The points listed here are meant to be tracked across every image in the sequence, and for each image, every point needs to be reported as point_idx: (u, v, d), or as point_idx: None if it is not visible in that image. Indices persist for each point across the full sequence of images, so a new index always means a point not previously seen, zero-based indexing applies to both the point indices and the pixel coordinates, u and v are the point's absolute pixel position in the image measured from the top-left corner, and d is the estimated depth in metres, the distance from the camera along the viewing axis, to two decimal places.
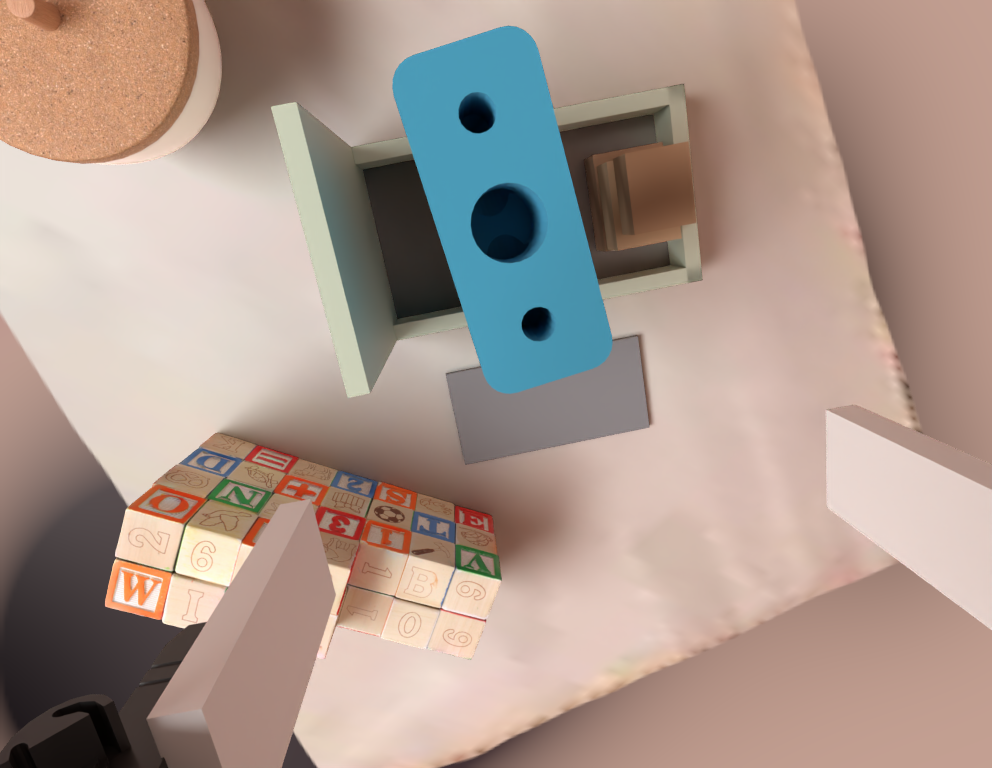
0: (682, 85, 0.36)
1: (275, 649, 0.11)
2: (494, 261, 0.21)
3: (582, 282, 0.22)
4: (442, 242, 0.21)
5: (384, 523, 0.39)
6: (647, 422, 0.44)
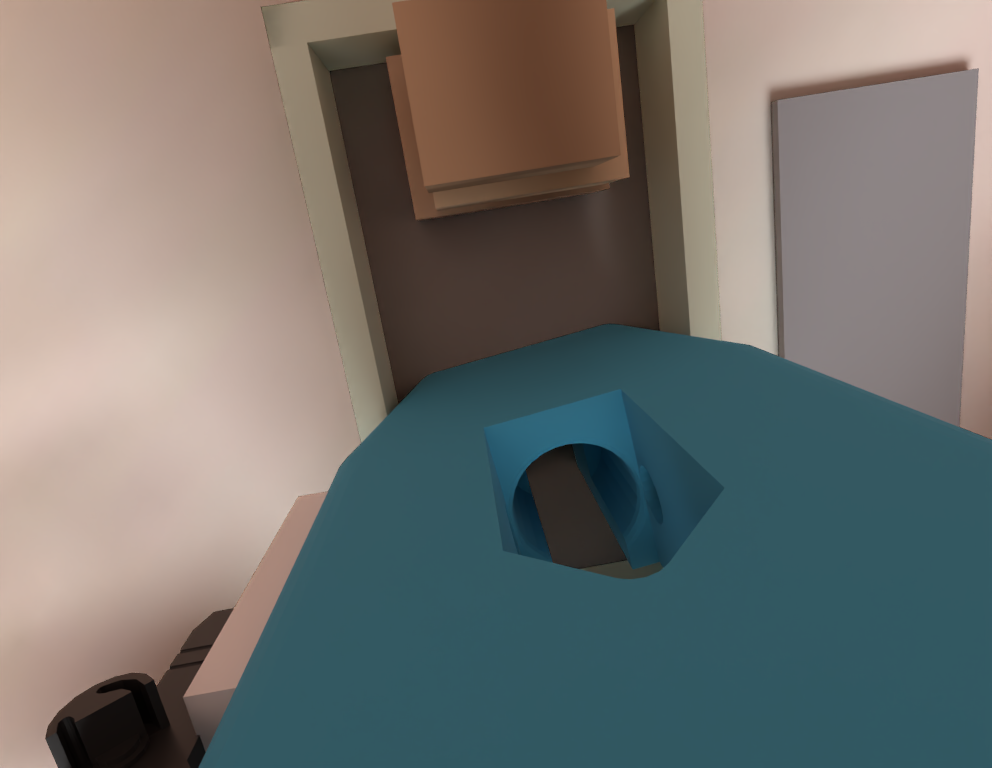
0: (264, 10, 0.16)
1: None
2: None
3: None
4: None
5: None
6: (966, 73, 0.20)
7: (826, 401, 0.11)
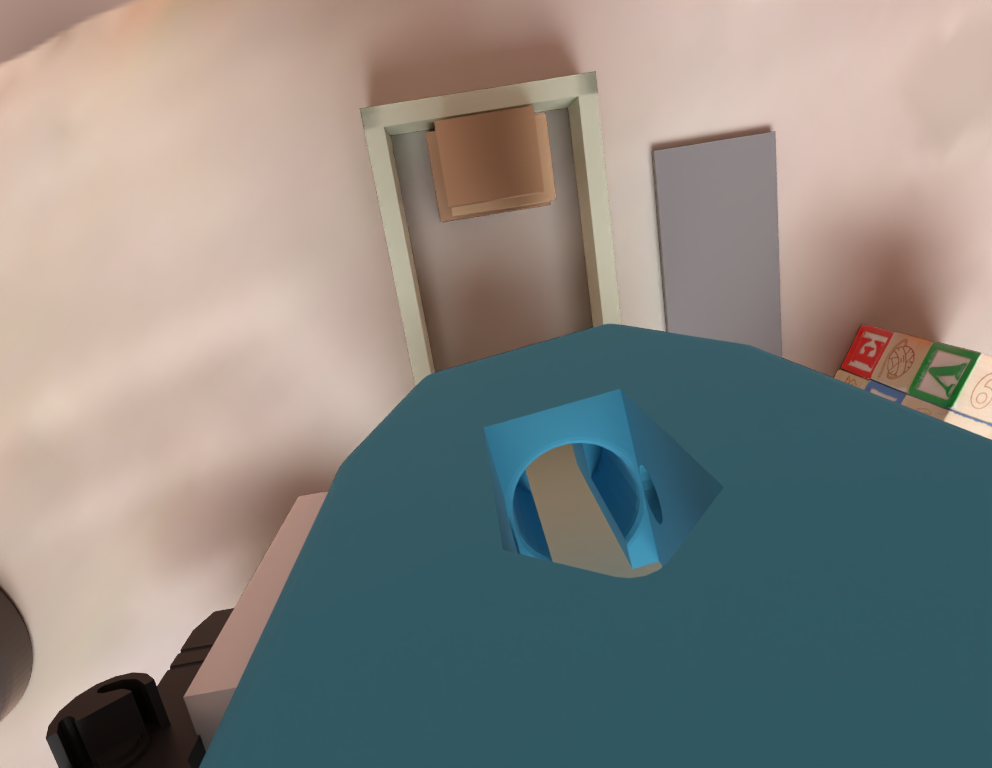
0: (361, 110, 0.30)
1: None
2: None
3: None
4: None
5: None
6: (768, 134, 0.34)
7: (825, 401, 0.11)
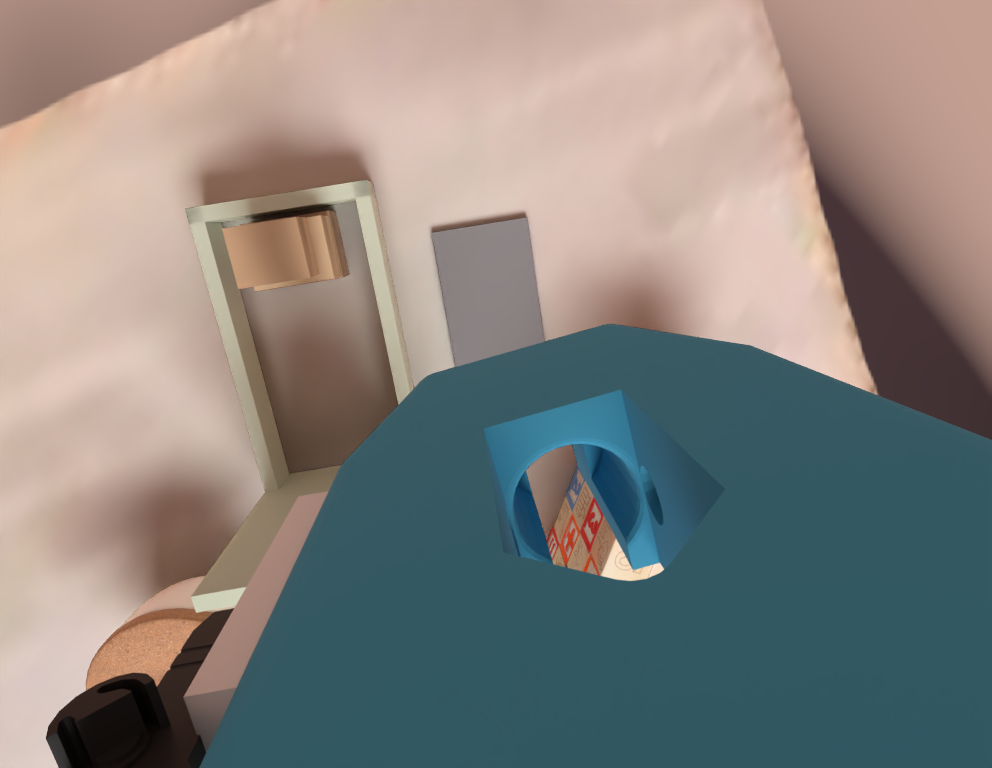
0: (186, 209, 0.39)
1: None
2: None
3: None
4: None
5: None
6: (521, 219, 0.43)
7: (827, 402, 0.11)
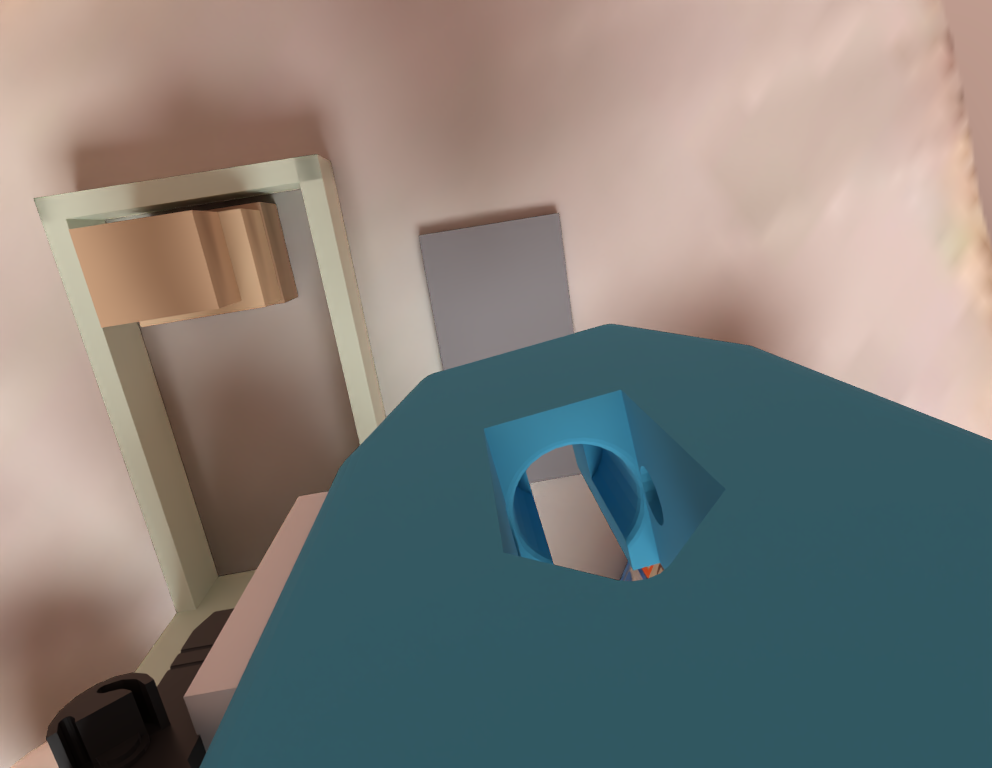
0: (36, 200, 0.25)
1: None
2: None
3: None
4: None
5: None
6: (551, 216, 0.29)
7: (827, 402, 0.11)
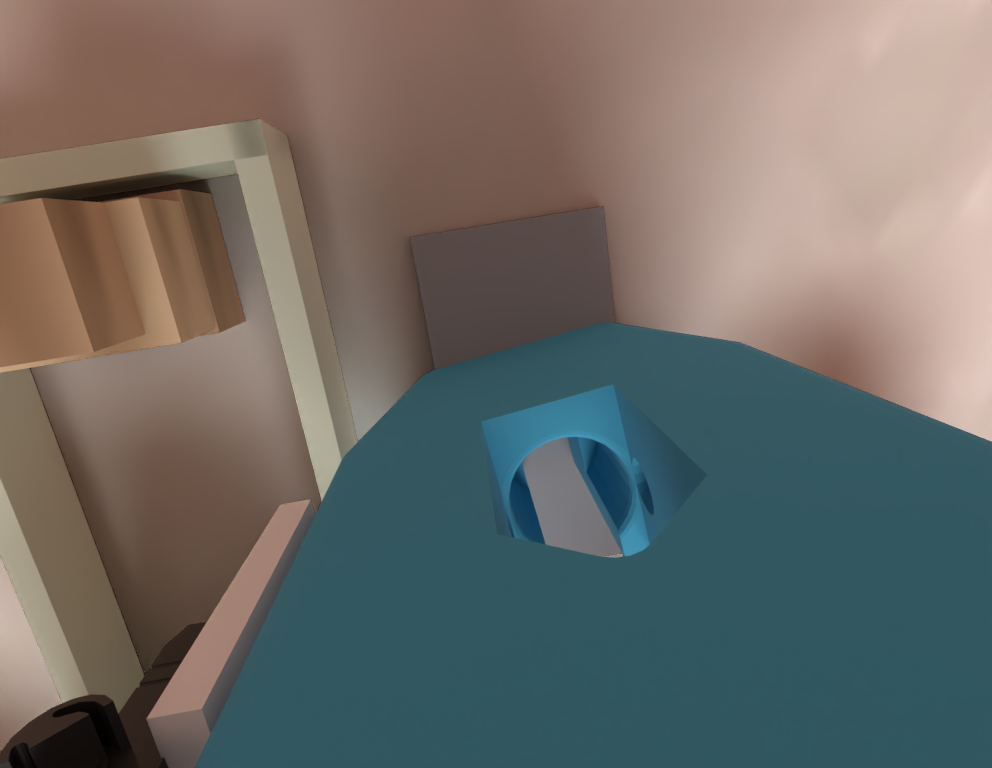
0: None
1: None
2: None
3: None
4: None
5: None
6: (592, 210, 0.21)
7: (807, 394, 0.11)
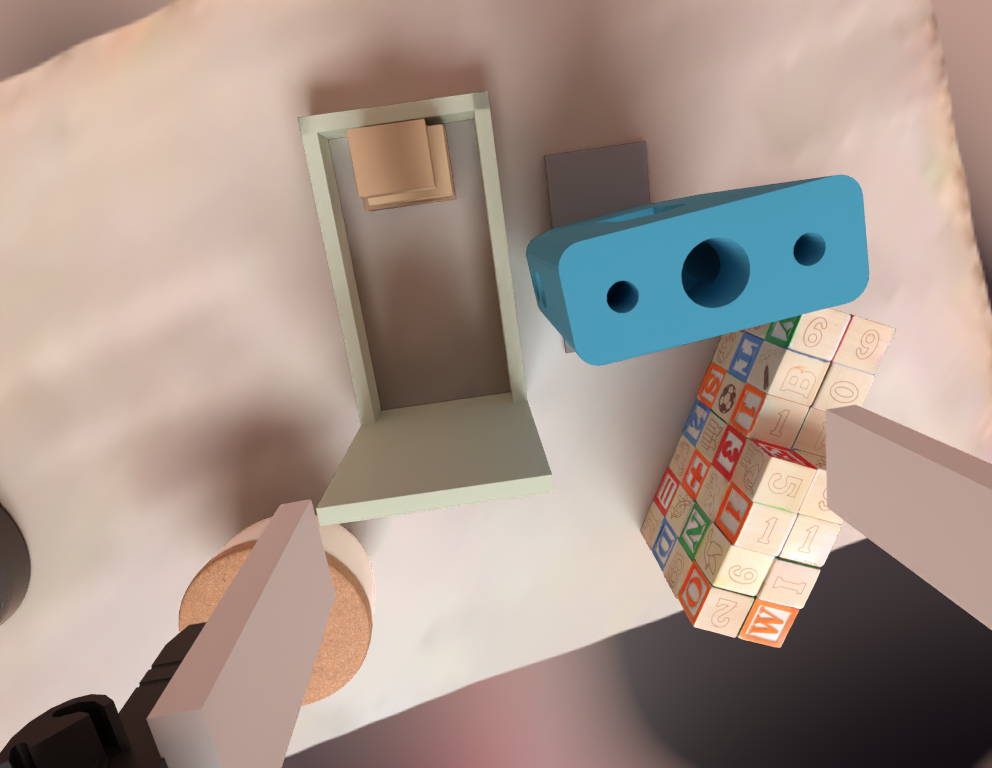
0: (299, 119, 0.37)
1: (275, 649, 0.11)
2: (745, 288, 0.23)
3: (778, 204, 0.23)
4: (722, 333, 0.24)
5: (734, 406, 0.40)
6: (640, 143, 0.41)
7: (727, 191, 0.31)
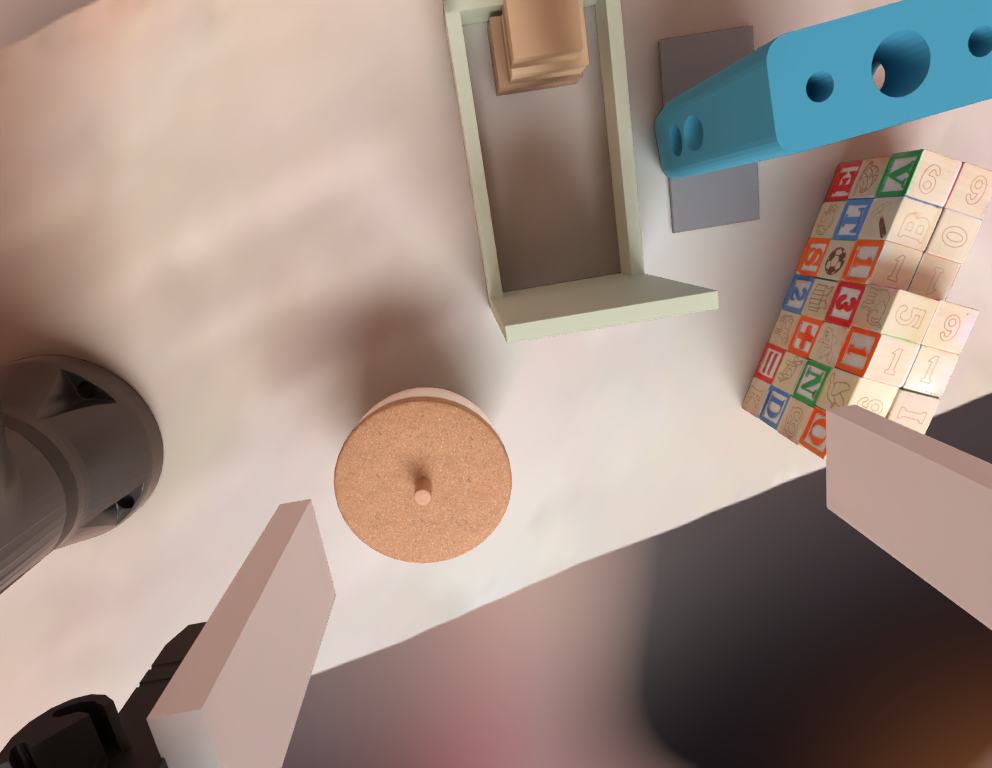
0: None
1: (275, 649, 0.11)
2: (925, 78, 0.27)
3: None
4: (903, 122, 0.27)
5: (846, 264, 0.43)
6: (747, 27, 0.44)
7: None
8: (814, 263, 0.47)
